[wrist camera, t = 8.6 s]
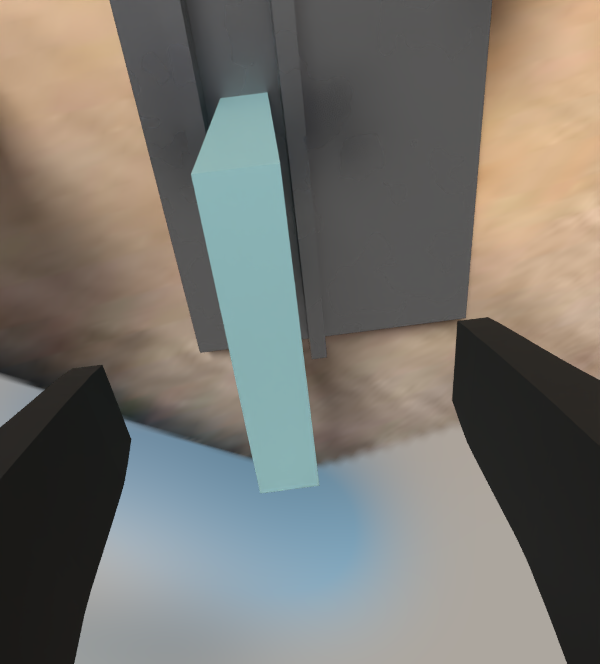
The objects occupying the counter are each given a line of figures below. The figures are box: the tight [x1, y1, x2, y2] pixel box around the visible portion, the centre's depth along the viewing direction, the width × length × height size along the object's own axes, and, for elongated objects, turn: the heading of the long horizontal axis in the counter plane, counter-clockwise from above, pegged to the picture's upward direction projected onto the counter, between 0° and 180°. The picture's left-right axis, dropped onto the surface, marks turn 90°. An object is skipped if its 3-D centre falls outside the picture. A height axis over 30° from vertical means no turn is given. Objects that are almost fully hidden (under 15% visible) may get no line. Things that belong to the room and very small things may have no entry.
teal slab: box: [191, 92, 319, 493], centre depth 14 cm, size 2×8×9 cm, turn 6°
